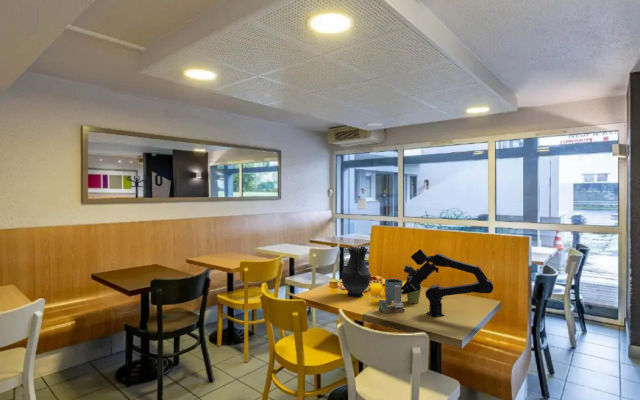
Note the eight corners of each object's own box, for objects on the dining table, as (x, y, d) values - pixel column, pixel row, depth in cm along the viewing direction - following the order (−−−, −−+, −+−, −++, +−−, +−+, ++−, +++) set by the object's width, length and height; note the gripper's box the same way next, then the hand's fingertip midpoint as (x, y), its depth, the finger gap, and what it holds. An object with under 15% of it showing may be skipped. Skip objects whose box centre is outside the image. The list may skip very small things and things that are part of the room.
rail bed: (400, 309, 194) (400, 297, 194) (404, 312, 189) (404, 300, 189) (379, 310, 191) (379, 298, 191) (383, 313, 186) (383, 301, 186)
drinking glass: (404, 300, 211) (405, 280, 211) (398, 305, 202) (399, 283, 202) (387, 298, 216) (388, 277, 216) (381, 302, 207) (382, 280, 207)
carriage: (398, 304, 194) (399, 284, 194) (402, 307, 189) (403, 287, 189) (391, 304, 193) (392, 285, 193) (395, 307, 188) (396, 287, 188)
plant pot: (402, 302, 207) (403, 287, 207) (407, 299, 215) (407, 284, 215) (419, 305, 202) (419, 289, 202) (423, 301, 211) (423, 286, 211)
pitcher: (369, 292, 228) (370, 244, 228) (370, 301, 207) (372, 248, 207) (341, 291, 230) (342, 243, 230) (340, 299, 209) (341, 247, 209)
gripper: (412, 257, 199) (391, 276, 201) (414, 263, 181) (390, 284, 183) (426, 273, 197) (405, 291, 199) (430, 280, 179) (406, 300, 181)
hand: (401, 291), depth 191 cm, fingers open, 9 cm apart
